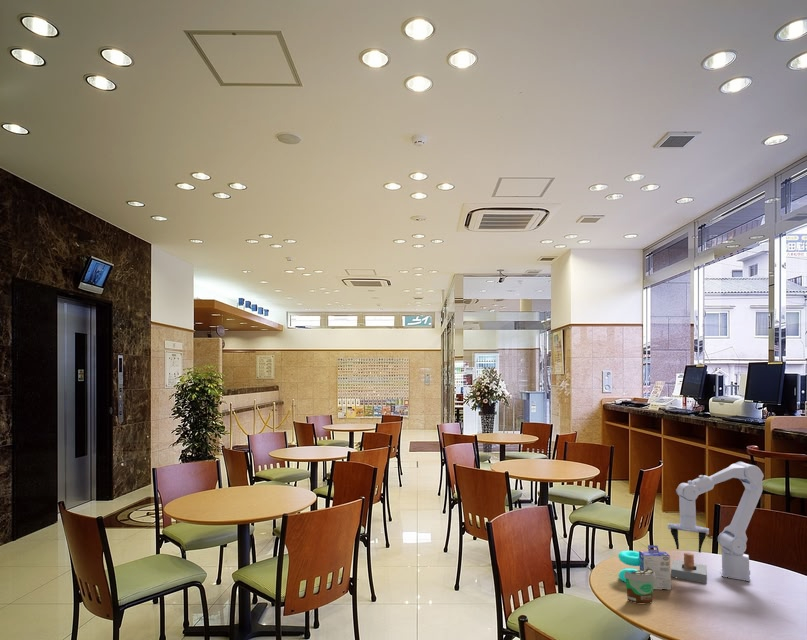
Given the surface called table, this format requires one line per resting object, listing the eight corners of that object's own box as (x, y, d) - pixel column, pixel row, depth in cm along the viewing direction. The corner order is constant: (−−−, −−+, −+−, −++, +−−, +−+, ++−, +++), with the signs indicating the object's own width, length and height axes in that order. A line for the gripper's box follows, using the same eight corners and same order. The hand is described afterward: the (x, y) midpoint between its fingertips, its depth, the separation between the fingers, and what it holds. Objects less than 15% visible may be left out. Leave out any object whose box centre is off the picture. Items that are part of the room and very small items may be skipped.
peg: (694, 574, 222) (693, 553, 223) (694, 577, 219) (693, 556, 220) (684, 573, 224) (683, 552, 224) (684, 575, 220) (683, 554, 221)
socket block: (706, 573, 224) (706, 565, 224) (706, 583, 213) (706, 575, 213) (673, 567, 229) (673, 560, 230) (671, 577, 219) (671, 569, 219)
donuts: (652, 557, 212) (629, 559, 209) (653, 584, 211) (629, 587, 209) (635, 548, 221) (613, 550, 219) (635, 575, 221) (613, 577, 218)
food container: (639, 608, 190) (638, 577, 191) (624, 601, 196) (624, 571, 196) (664, 601, 196) (663, 571, 197) (649, 595, 201) (648, 566, 202)
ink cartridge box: (665, 584, 211) (665, 544, 212) (672, 590, 206) (671, 549, 207) (638, 583, 212) (638, 543, 213) (644, 589, 206) (643, 548, 208)
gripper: (666, 514, 223) (667, 550, 222) (708, 519, 216) (709, 556, 215) (667, 510, 229) (668, 545, 228) (708, 515, 223) (709, 551, 222)
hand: (688, 550), depth 222 cm, fingers open, 7 cm apart
